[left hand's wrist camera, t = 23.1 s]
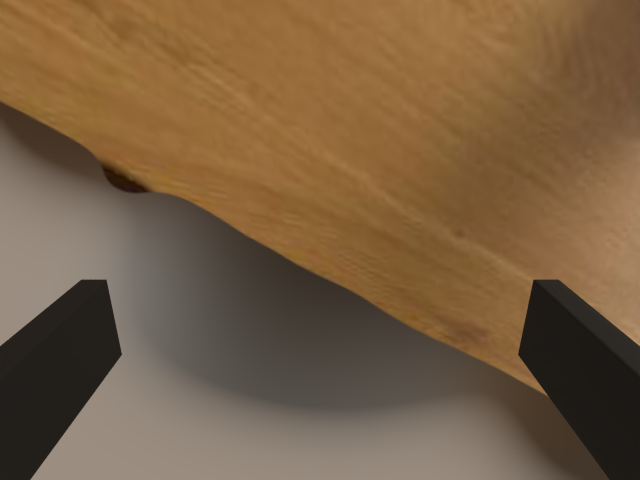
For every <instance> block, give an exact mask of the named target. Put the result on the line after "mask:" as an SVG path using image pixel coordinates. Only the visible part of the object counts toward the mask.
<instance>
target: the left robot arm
mask: <svg viewBox="0 0 640 480" xmlns="http://www.w3.org/2000/svg"><path fill="white" fill-rule="evenodd" d="M121 355H122V353H121V348H120V343H119V339H118V334H117V329H116V324H115V319H114V314H113V309H112V305H111V300H110V295H109V290H108V285H107V281H106V280H81V281H79V282H78V283H77V284H76V285H74V286H73V287H72V288H71V289H70V290H68V291H67V292H66V293H65V294H63V295H62V296H61V297H60V298H59V299H57V300H56V301H55V302H54V303H52V304H51V305H50V306H49V307H48V308H46V309H45V310H44V311H43V312H42V313H40V314H39V315H38V316H37V317H35V318H34V319H33V320H32V321H31V322H29V323H28V324H27V325H26V326H24V327H23V328H22V329H21V330H20V331H18V332H17V333H16V334H15V335H13V336H12V337H11V338H10V339H9V340H7V341H6V342H5V343H4V344H2V345H1V346H0V480H30V479H31V478H32V477H33V475H34V474H35V473H36V471H37V470H38V468H39V467H40V466H41V464H42V463H43V462H44V460H45V459H46V458H47V456H48V455H49V453H50V452H51V451H52V449H53V448H54V447H55V445H56V444H57V442H58V441H59V440H60V438H61V437H62V436H63V434H64V433H65V432H66V430H67V429H68V427H69V426H70V425H71V423H72V422H73V421H74V419H75V418H76V416H77V415H78V414H79V412H80V411H81V410H82V408H83V407H84V406H85V404H86V403H87V402H88V400H89V399H90V397H91V396H92V395H93V393H94V392H95V391H96V389H97V388H98V386H99V385H100V384H101V382H102V381H103V380H104V378H105V377H106V375H107V374H108V373H109V371H110V370H111V369H112V367H113V366H114V365H115V363H116V362H117V361H118V359H119V358H120V356H121ZM518 355H519V356H520V358H521V359H522V361H523V362H524V363H525V365H526V366H527V367H528V369H529V370H530V371H531V373H532V374H533V376H534V377H535V378H536V380H537V381H538V382H539V384H540V385H541V387H542V388H543V389H544V391H545V392H546V393H547V395H548V396H549V397H550V399H551V400H552V402H553V403H554V404H555V406H556V407H557V408H558V410H559V411H560V412H561V414H562V415H563V417H564V418H565V419H566V421H567V422H568V423H569V425H570V426H571V427H572V429H573V430H574V431H575V433H576V434H577V436H578V437H579V438H580V440H581V441H582V442H583V444H584V445H585V447H586V448H587V449H588V451H589V452H590V453H591V455H592V456H593V457H594V459H595V460H596V462H597V463H598V464H599V466H600V467H601V468H602V470H603V471H604V473H605V474H606V475H607V477H608V478H609V479H610V480H640V346H639V345H638V344H636V343H635V342H634V341H633V340H631V339H630V338H629V337H628V336H627V335H625V334H624V333H623V332H622V331H620V330H619V329H618V328H617V327H616V326H614V325H613V324H612V323H611V322H609V321H608V320H607V319H606V318H605V317H603V316H602V315H601V314H600V313H599V312H597V311H596V310H595V309H594V308H592V307H591V306H590V305H589V304H588V303H586V302H585V301H584V300H583V299H581V298H580V297H579V296H578V295H577V294H575V293H574V292H573V291H572V290H570V289H569V288H568V287H567V286H566V285H564V284H563V283H562V282H561V281H559V280H533V285H532V290H531V295H530V300H529V305H528V309H527V314H526V319H525V324H524V329H523V334H522V338H521V343H520V348H519V353H518Z"/></svg>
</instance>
